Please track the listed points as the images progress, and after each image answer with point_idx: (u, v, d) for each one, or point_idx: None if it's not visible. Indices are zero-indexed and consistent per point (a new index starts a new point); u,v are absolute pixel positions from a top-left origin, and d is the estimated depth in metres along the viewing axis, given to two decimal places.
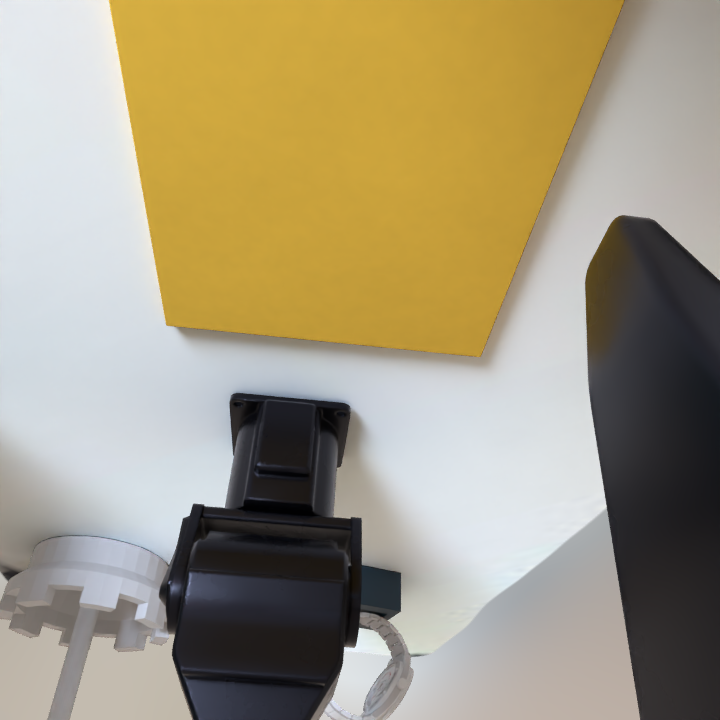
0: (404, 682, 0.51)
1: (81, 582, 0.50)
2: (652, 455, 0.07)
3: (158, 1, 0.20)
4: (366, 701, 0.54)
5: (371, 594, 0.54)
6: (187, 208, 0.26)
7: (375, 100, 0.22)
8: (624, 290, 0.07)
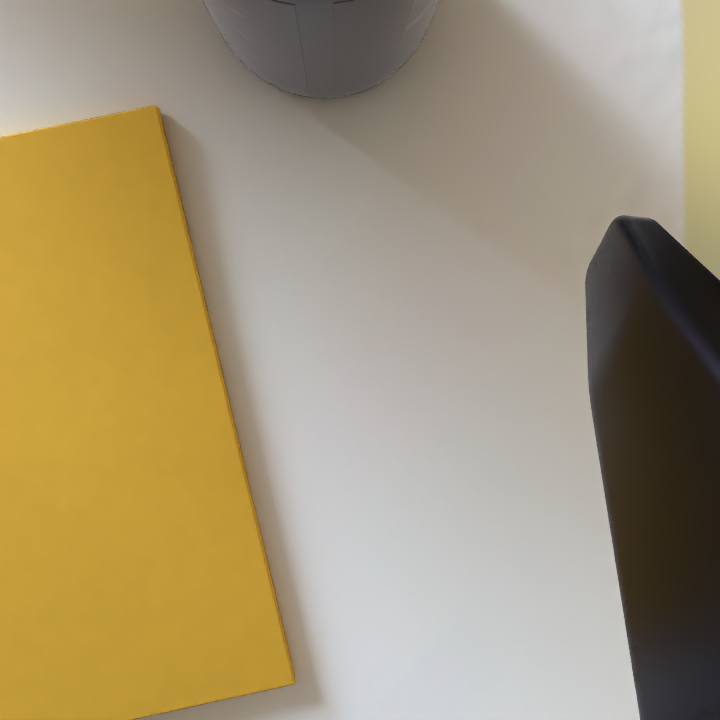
0: None
1: None
2: (652, 455, 0.07)
3: None
4: None
5: None
6: None
7: None
8: (624, 290, 0.07)
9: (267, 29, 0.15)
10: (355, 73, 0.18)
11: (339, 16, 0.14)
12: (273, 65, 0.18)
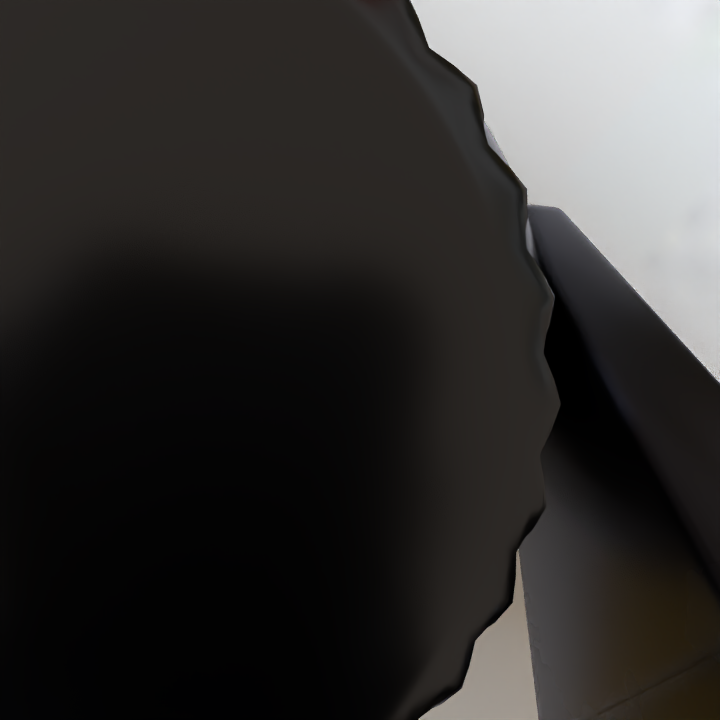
0: None
1: None
2: (545, 445, 0.07)
3: None
4: None
5: None
6: None
7: None
8: None
9: None
10: None
11: None
12: None
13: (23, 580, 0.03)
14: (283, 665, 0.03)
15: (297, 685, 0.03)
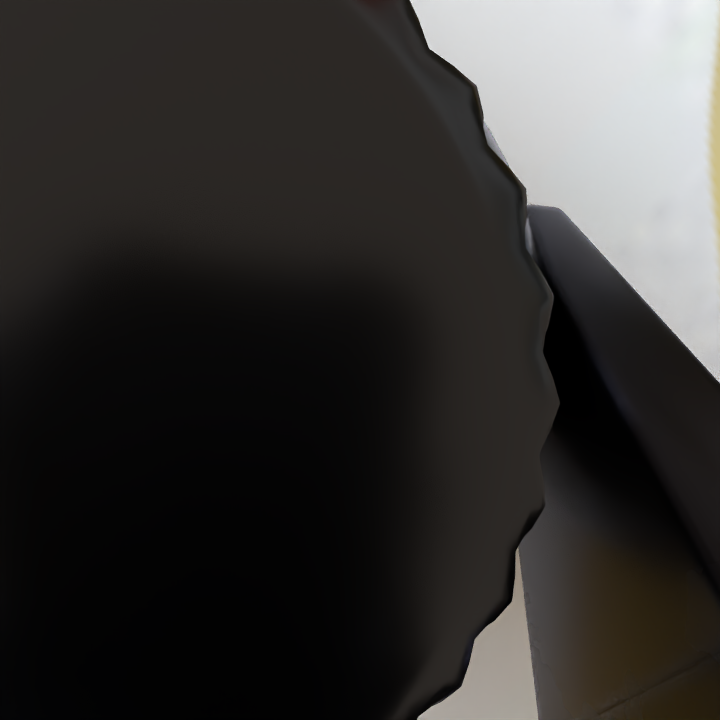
0: None
1: None
2: (545, 445, 0.07)
3: None
4: None
5: None
6: None
7: None
8: None
9: None
10: None
11: None
12: None
13: (25, 578, 0.03)
14: (284, 663, 0.03)
15: (298, 683, 0.03)
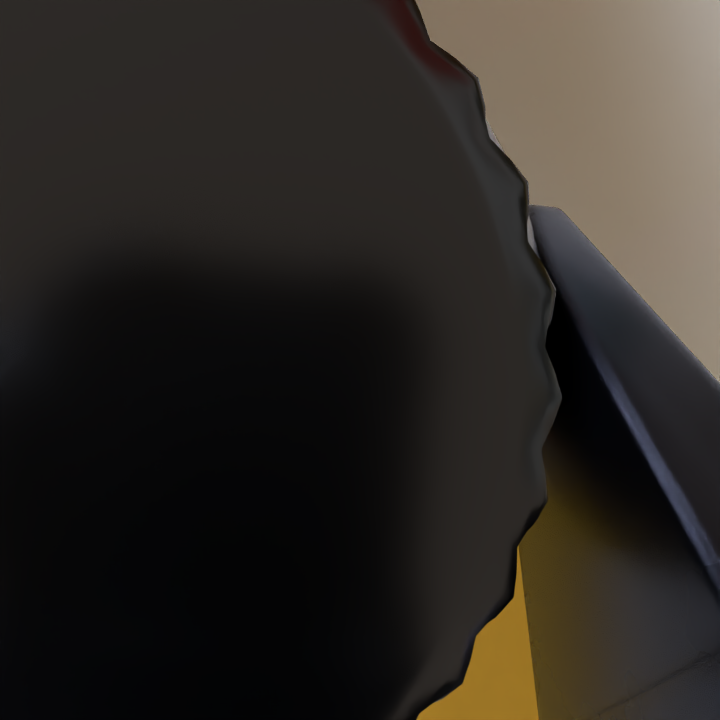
0: None
1: None
2: (546, 445, 0.07)
3: None
4: None
5: None
6: None
7: None
8: None
9: None
10: None
11: None
12: None
13: (23, 574, 0.03)
14: (284, 659, 0.03)
15: (298, 679, 0.03)
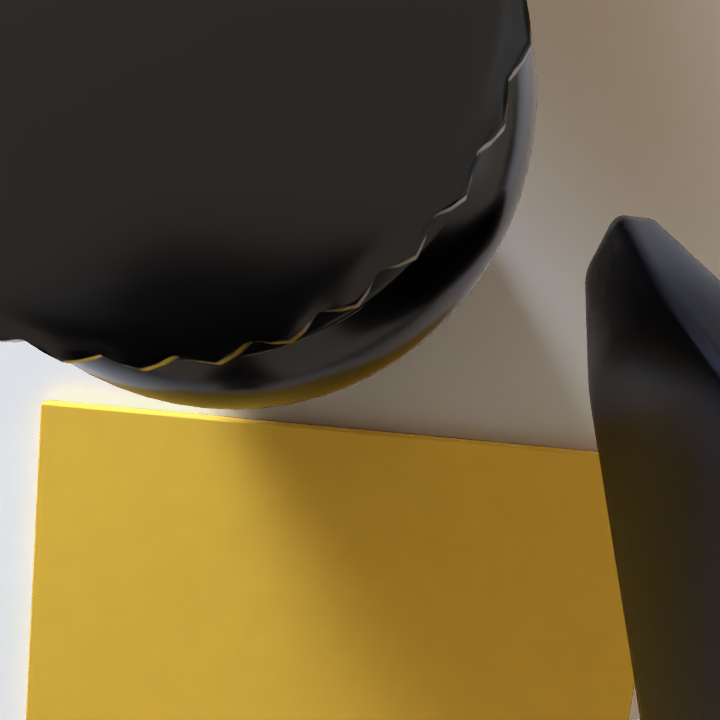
0: None
1: None
2: (652, 455, 0.07)
3: (96, 571, 0.16)
4: None
5: None
6: None
7: (369, 681, 0.17)
8: (624, 290, 0.07)
9: None
10: None
11: None
12: None
13: (135, 88, 0.04)
14: (330, 166, 0.04)
15: (341, 181, 0.04)
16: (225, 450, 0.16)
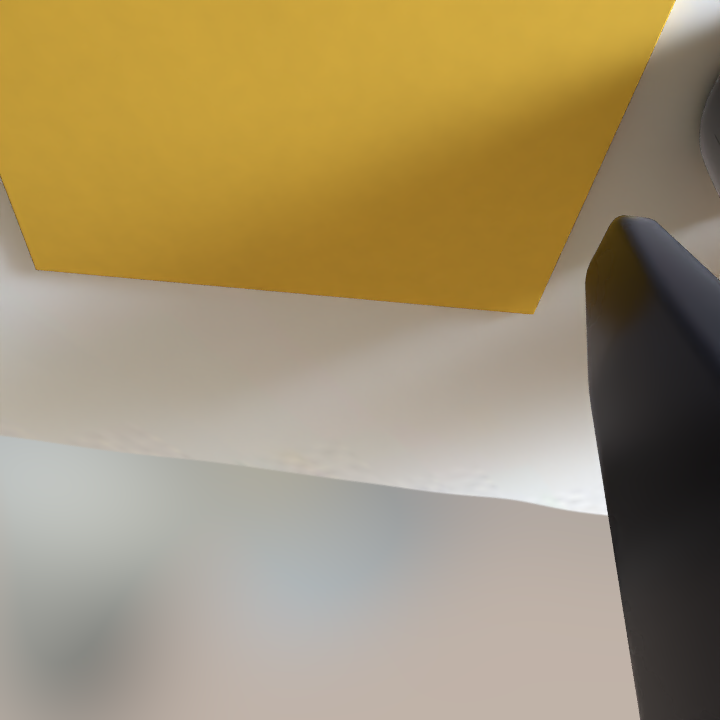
0: None
1: None
2: (652, 455, 0.07)
3: None
4: None
5: None
6: None
7: (400, 152, 0.21)
8: (624, 290, 0.07)
9: None
10: None
11: None
12: None
13: None
14: None
15: None
16: (628, 46, 0.18)
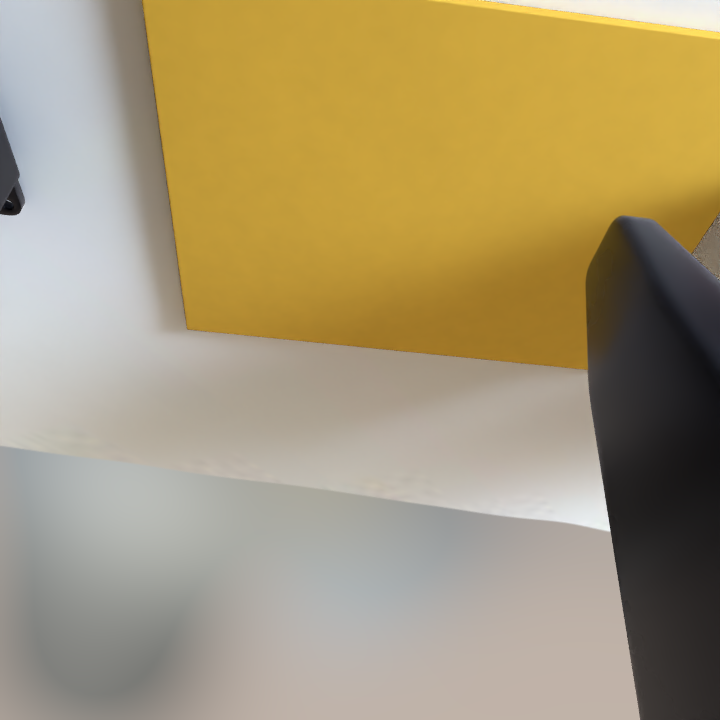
0: None
1: None
2: (652, 455, 0.07)
3: (666, 84, 0.20)
4: None
5: None
6: (401, 55, 0.20)
7: (520, 247, 0.25)
8: (624, 290, 0.07)
9: None
10: None
11: None
12: None
13: None
14: None
15: None
16: None
